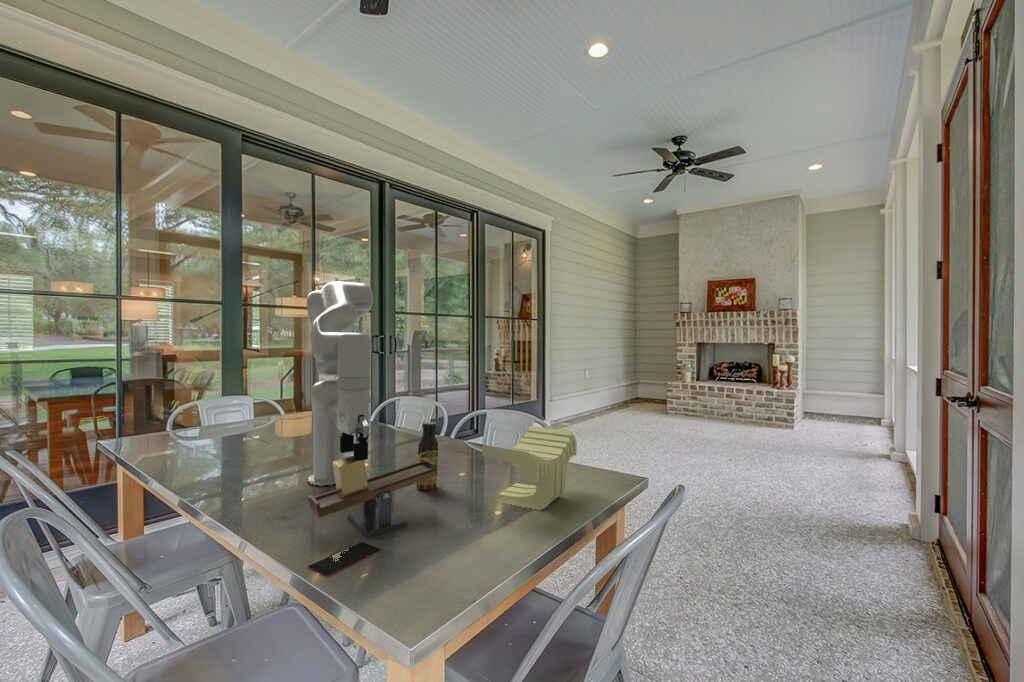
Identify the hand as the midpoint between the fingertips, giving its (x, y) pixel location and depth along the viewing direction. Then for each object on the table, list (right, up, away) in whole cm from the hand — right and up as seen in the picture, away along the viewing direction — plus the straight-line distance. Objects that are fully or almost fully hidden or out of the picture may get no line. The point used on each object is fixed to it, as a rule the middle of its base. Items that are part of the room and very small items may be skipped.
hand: (353, 455), depth 110 cm
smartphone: (+3, -19, -14) cm, 24 cm away
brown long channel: (+4, -10, +4) cm, 11 cm away
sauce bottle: (+12, -18, +31) cm, 37 cm away
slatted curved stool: (+44, -18, +22) cm, 52 cm away
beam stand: (+4, -18, +4) cm, 19 cm away
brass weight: (0, -9, +1) cm, 9 cm away
